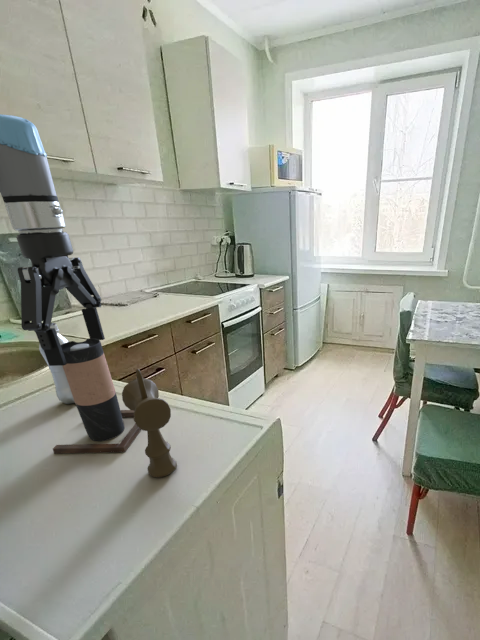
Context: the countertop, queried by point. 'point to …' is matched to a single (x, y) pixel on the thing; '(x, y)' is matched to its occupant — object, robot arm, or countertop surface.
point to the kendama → (150, 422)
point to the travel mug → (93, 389)
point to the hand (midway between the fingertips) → (79, 351)
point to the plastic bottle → (59, 374)
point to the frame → (102, 447)
